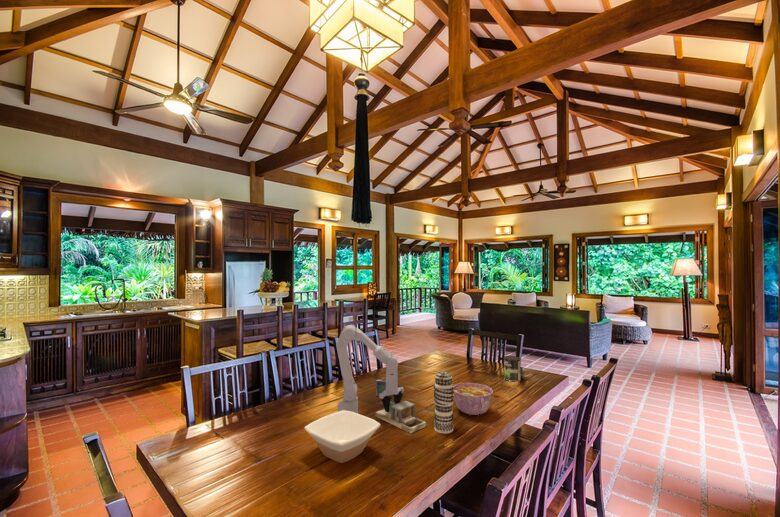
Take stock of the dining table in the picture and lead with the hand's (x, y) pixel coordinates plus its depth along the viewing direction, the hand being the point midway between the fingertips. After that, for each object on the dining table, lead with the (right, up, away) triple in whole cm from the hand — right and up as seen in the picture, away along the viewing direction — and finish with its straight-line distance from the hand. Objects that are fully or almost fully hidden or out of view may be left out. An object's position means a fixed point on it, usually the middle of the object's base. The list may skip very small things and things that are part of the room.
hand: (391, 409), depth 171 cm
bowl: (-19, -3, -32) cm, 38 cm away
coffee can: (+79, -5, +58) cm, 98 cm away
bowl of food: (+41, -4, +6) cm, 41 cm away
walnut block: (+5, -1, -6) cm, 8 cm away
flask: (-4, -5, +27) cm, 28 cm away
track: (+4, -4, -4) cm, 7 cm away
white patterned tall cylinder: (+23, -4, -12) cm, 27 cm away
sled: (+4, -1, -4) cm, 6 cm away
